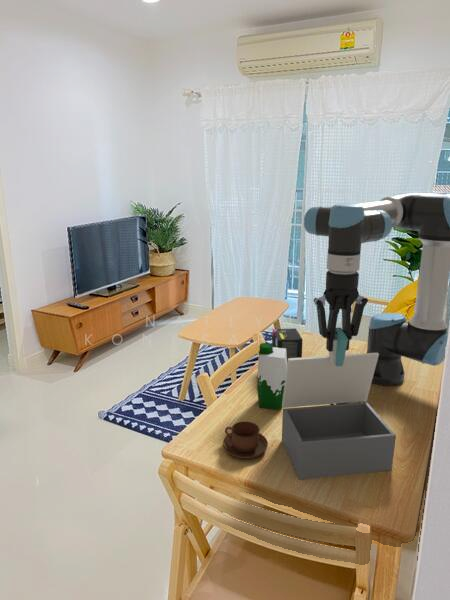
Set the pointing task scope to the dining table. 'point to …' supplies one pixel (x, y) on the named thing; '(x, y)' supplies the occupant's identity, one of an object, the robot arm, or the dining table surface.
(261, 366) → the milk carton
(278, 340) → the tampon box
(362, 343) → the dining table surface
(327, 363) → the carton lid
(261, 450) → the cup and saucer
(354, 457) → the carton
